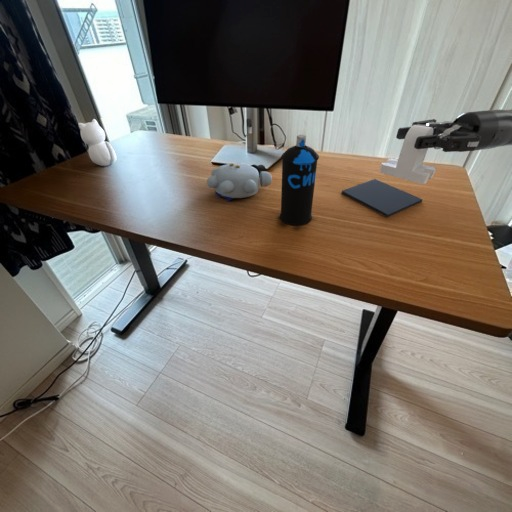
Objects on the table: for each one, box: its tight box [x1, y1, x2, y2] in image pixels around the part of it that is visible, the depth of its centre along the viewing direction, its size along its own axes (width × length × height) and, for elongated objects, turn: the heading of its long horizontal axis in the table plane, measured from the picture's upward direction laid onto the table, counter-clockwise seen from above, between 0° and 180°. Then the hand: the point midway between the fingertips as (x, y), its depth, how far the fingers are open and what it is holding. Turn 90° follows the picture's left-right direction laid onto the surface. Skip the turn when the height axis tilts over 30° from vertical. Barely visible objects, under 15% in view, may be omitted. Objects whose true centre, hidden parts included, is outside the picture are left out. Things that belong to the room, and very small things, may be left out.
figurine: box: [206, 162, 273, 202], centre depth 80 cm, size 17×8×20 cm
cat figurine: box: [77, 118, 118, 167], centre depth 98 cm, size 9×12×15 cm
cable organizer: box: [378, 125, 437, 185], centre depth 57 cm, size 5×10×10 cm, turn 43°
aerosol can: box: [279, 134, 320, 227], centre depth 63 cm, size 8×8×20 cm
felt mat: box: [341, 178, 423, 218], centre depth 76 cm, size 16×14×1 cm
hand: (407, 138), depth 54 cm, fingers closed on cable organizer, 5 cm apart
